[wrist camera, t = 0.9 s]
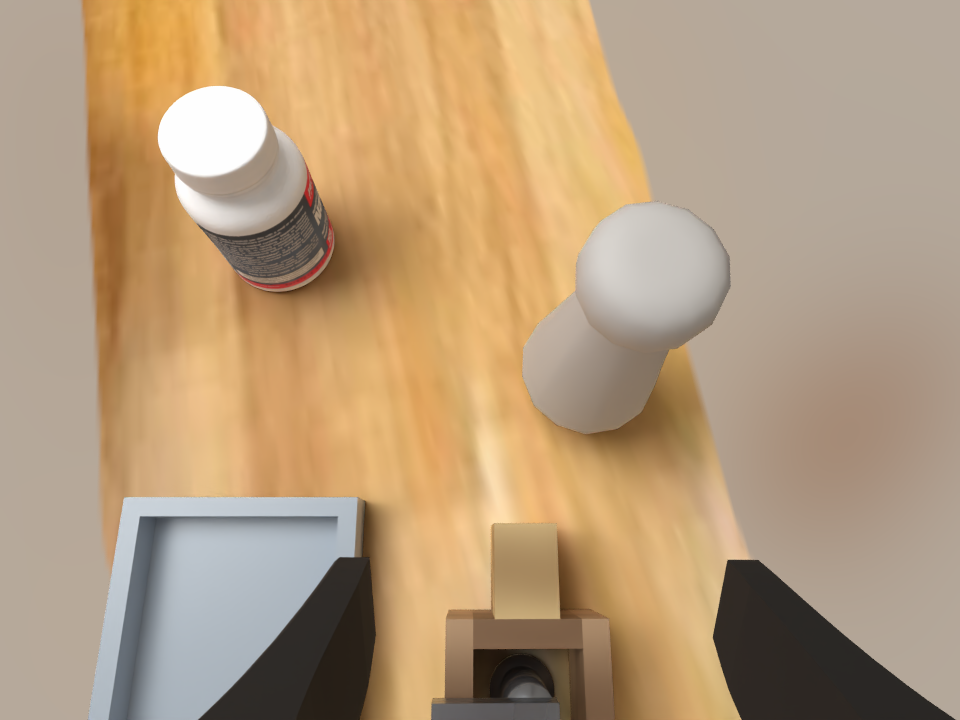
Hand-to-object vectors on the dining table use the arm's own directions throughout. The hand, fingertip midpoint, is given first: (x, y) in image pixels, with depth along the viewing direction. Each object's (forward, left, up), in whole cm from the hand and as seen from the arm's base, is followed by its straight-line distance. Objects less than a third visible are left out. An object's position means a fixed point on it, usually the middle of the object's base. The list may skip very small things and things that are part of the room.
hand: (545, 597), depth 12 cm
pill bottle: (+15, +11, -15) cm, 24 cm away
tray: (-4, +11, -15) cm, 19 cm away
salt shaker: (+8, -4, -15) cm, 18 cm away
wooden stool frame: (-3, -1, -15) cm, 15 cm away
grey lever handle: (-5, 0, -15) cm, 15 cm away
